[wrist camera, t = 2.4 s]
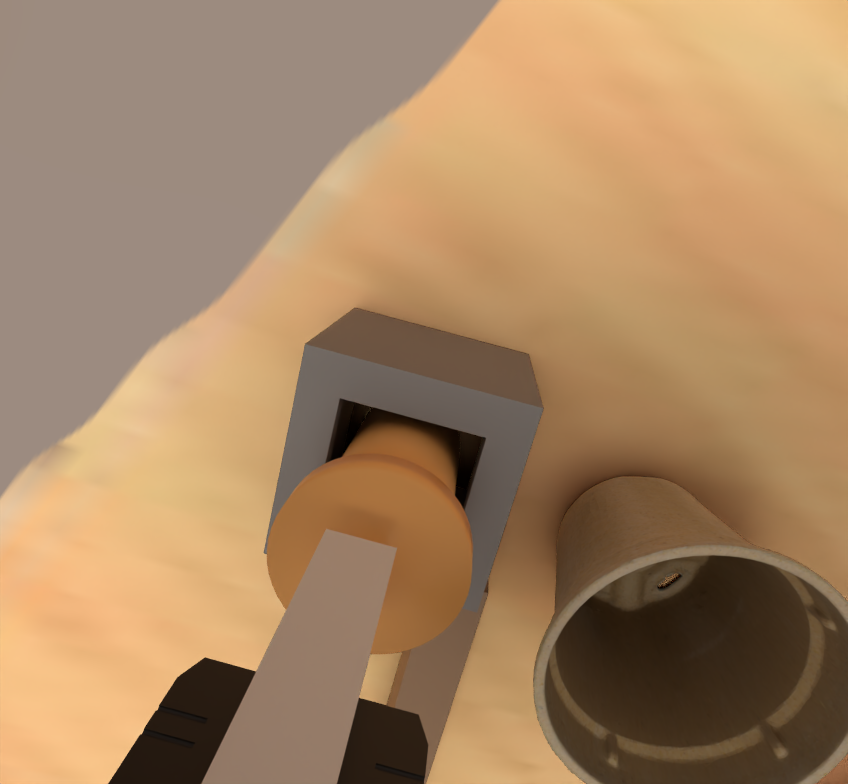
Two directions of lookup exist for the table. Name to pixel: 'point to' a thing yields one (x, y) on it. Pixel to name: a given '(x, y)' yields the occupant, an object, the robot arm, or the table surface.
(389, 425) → the button
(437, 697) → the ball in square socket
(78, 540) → the table surface
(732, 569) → the flower pot
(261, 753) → the robot arm
